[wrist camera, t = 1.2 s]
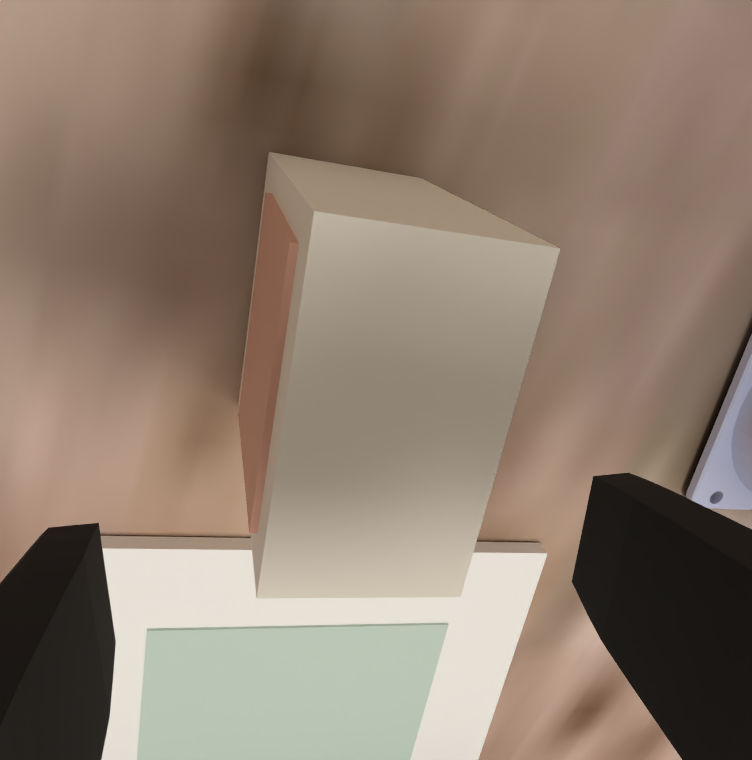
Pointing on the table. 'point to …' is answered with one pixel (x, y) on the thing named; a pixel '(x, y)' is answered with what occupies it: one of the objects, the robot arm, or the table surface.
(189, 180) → the table surface
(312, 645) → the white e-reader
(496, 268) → the carton
